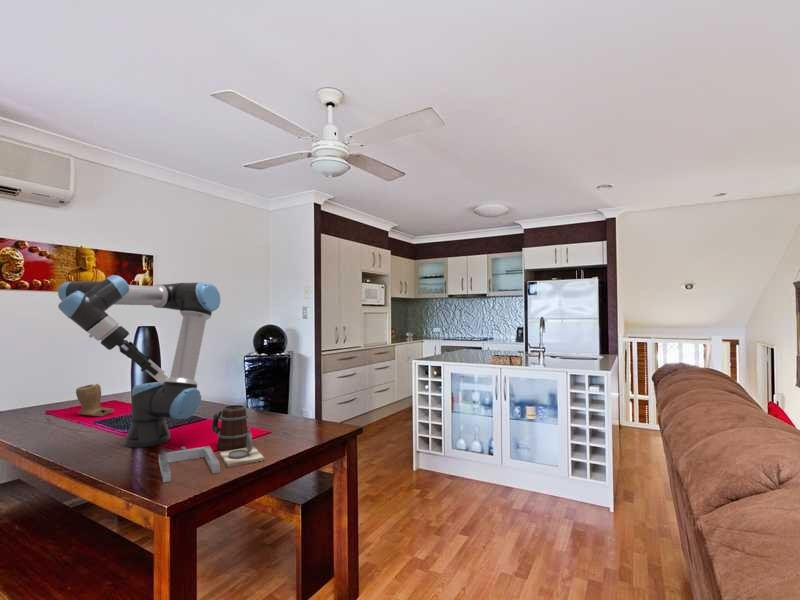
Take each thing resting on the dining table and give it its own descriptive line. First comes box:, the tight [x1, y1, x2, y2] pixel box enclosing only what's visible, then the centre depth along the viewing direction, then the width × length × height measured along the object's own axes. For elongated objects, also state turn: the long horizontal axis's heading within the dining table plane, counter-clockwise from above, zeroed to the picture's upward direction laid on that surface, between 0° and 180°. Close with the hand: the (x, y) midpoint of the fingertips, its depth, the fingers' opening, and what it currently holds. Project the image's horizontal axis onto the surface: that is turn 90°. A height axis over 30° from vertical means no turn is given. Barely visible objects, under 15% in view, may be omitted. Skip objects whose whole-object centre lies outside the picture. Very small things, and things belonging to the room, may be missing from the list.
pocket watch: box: [228, 425, 253, 458], centre depth 150 cm, size 8×8×10 cm
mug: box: [211, 404, 249, 452], centre depth 164 cm, size 16×12×15 cm
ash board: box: [219, 446, 265, 468], centre depth 150 cm, size 14×12×1 cm
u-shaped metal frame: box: [158, 445, 221, 484], centre depth 144 cm, size 26×16×3 cm, turn 33°
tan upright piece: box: [75, 383, 115, 417], centre depth 208 cm, size 15×12×15 cm
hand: (163, 377), depth 141 cm, fingers open, 13 cm apart
